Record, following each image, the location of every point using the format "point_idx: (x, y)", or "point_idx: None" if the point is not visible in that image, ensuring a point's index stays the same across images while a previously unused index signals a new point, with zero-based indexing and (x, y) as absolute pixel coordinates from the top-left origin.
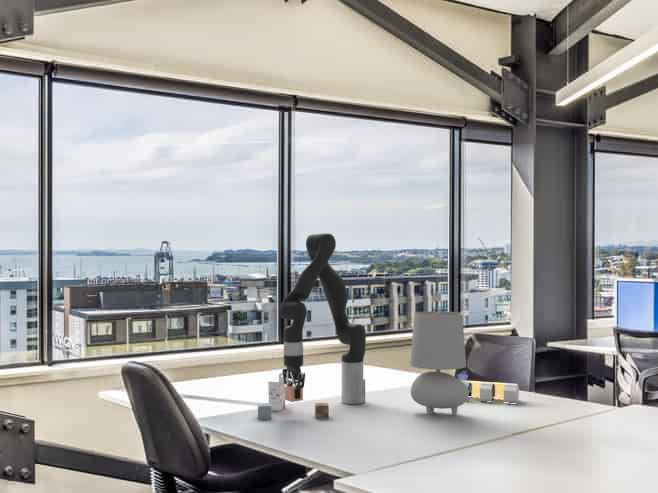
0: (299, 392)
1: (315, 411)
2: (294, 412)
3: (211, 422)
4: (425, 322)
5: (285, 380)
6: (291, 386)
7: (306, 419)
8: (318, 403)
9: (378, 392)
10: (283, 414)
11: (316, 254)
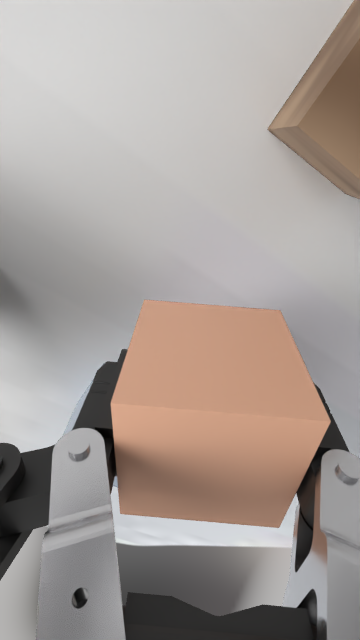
0: (332, 434)
1: (357, 192)
2: (76, 203)
3: None
4: None
5: (7, 561)
6: (154, 475)
7: (311, 262)
8: (352, 104)
9: None
10: (99, 296)
11: None
